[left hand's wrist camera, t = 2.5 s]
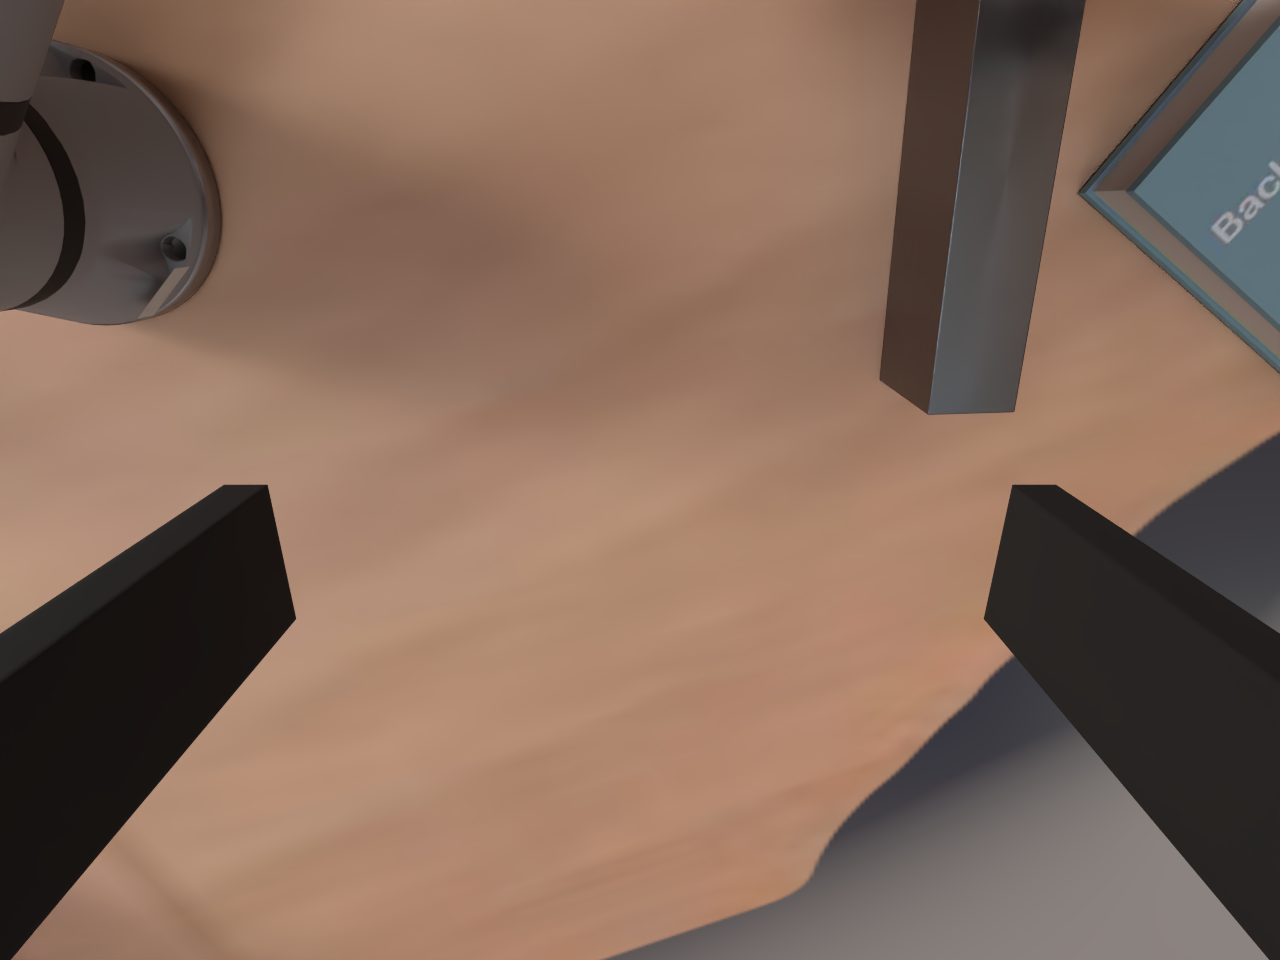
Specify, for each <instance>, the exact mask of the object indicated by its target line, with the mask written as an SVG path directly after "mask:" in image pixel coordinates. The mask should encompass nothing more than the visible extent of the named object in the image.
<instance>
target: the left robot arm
mask: <svg viewBox="0 0 1280 960" xmlns="http://www.w3.org/2000/svg"><path fill="white" fill-rule="evenodd" d="M63 3H64V0H0V311H6V310H12V309H16V310H21V311H26V312H30V313H35V314H40V315H45V316H50V317H55V318H59V319H64V320H69V321H75V322H79V323H85V324H92V325H119V324H126V323H131V322H136V321H140V320H145V319H149V318H153V317H156V316H160V315H162V314H165V313H167V312H169V311H171V310H173V309H175V308H177V307H178V306H180V305H181V304H182V303H184V302H185V301H187V300H188V299H189V298H190V297H191V296H192V295H193V294H194V293H195V292H196V291H197V290H198V288H199V287H200V286H201V285H202V283H203V282H204V280H205V279H206V277H207V275H208V273H209V271H210V269H211V267H212V265H213V262H214V260H215V257H216V253H217V249H218V245H219V238H220V227H221V216H220V204H219V197H218V192H217V188H216V184H215V180H214V176H213V173H212V171H211V168H210V165H209V162H208V160H207V158H206V156H205V153H204V151H203V149H202V147H201V145H200V144H199V142H198V140H197V138H196V136H195V135H194V133H193V132H192V130H191V128H190V127H189V125H188V124H187V123H186V121H185V120H184V119H183V117H182V116H181V115H180V113H179V112H178V111H177V110H176V109H175V107H174V106H173V105H172V104H171V103H170V102H169V101H168V100H167V99H166V98H165V97H164V96H163V95H162V94H161V93H160V92H159V91H158V90H157V89H156V88H155V87H154V86H152V85H151V84H150V83H149V82H148V81H146V80H145V79H144V78H142V77H141V76H140V75H138V74H137V73H135V72H134V71H133V70H131V69H129V68H127V67H126V66H124V65H122V64H121V63H119V62H117V61H115V60H113V59H111V58H109V57H107V56H104V55H101V54H99V53H96V52H93V51H90V50H87V49H83V48H80V47H76V46H73V45H69V44H66V43H62V42H59V41H55V40H51V39H52V36H53V33H54V30H55V27H56V24H57V21H58V18H59V15H60V12H61V9H62V6H63ZM295 620H296V616H295V611H294V607H293V602H292V597H291V592H290V588H289V583H288V578H287V574H286V569H285V564H284V560H283V555H282V550H281V546H280V541H279V536H278V532H277V527H276V522H275V518H274V513H273V508H272V503H271V499H270V494H269V489H268V485H223V486H222V487H220V488H219V489H217V490H216V491H214V492H213V493H211V494H210V495H208V496H207V497H205V498H204V499H202V500H201V501H199V502H198V503H196V504H195V505H193V506H192V507H190V508H189V509H187V510H185V511H184V512H182V513H181V514H179V515H178V516H176V517H175V518H173V519H172V520H170V521H169V522H167V523H166V524H164V525H163V526H161V527H160V528H158V529H157V530H155V531H154V532H152V533H151V534H149V535H148V536H146V537H145V538H143V539H142V540H140V541H139V542H137V543H136V544H134V545H133V546H131V547H130V548H128V549H127V550H125V551H124V552H122V553H121V554H119V555H118V556H116V557H115V558H113V559H112V560H110V561H109V562H107V563H106V564H104V565H103V566H101V567H100V568H98V569H97V570H95V571H94V572H92V573H91V574H89V575H88V576H86V577H85V578H83V579H82V580H80V581H79V582H77V583H76V584H74V585H73V586H71V587H70V588H68V589H67V590H65V591H64V592H62V593H61V594H59V595H58V596H56V597H55V598H53V599H52V600H50V601H49V602H47V603H46V604H44V605H43V606H41V607H40V608H38V609H37V610H35V611H34V612H32V613H31V614H29V615H28V616H26V617H25V618H23V619H22V620H20V621H19V622H17V623H16V624H14V625H13V626H11V627H10V628H8V629H7V630H5V631H4V632H2V633H1V634H0V960H11V959H12V958H13V956H14V955H15V954H16V953H17V952H18V950H19V949H20V948H21V947H22V946H23V944H24V943H25V942H26V941H27V940H28V938H29V937H30V936H31V935H32V934H33V933H34V931H35V930H36V929H37V928H38V927H39V925H40V924H41V923H42V922H43V921H44V919H45V918H46V917H47V916H48V915H49V913H50V912H51V911H52V910H53V909H54V907H55V906H56V905H57V904H58V903H59V901H60V900H61V899H62V898H63V897H64V896H65V894H66V893H67V892H68V891H69V890H70V888H71V887H72V886H73V885H74V884H75V882H76V881H77V880H78V879H79V878H80V876H81V875H82V874H83V873H84V872H85V870H86V869H87V868H88V867H89V866H90V864H91V863H92V862H93V861H94V860H95V858H96V857H97V856H98V855H99V854H100V853H101V851H102V850H103V849H104V848H105V847H106V845H107V844H108V843H109V842H110V841H111V839H112V838H113V837H114V836H115V835H116V833H117V832H118V831H119V830H120V829H121V827H122V826H123V825H124V824H125V823H126V821H127V820H128V819H129V818H130V817H131V815H132V814H133V813H134V812H135V811H136V810H137V808H138V807H139V806H140V805H141V804H142V802H143V801H144V800H145V799H146V798H147V796H148V795H149V794H150V793H151V792H152V790H153V789H154V788H155V787H156V786H157V784H158V783H159V782H160V781H161V780H162V778H163V777H164V776H165V775H166V774H167V773H168V771H169V770H170V769H171V768H172V767H173V765H174V764H175V763H176V762H177V761H178V759H179V758H180V757H181V756H182V755H183V753H184V752H185V751H186V750H187V749H188V747H189V746H190V745H191V744H192V743H193V741H194V740H195V739H196V738H197V737H198V735H199V734H200V733H201V732H202V731H203V730H204V728H205V727H206V726H207V725H208V724H209V722H210V721H211V720H212V719H213V718H214V716H215V715H216V714H217V713H218V712H219V710H220V709H221V708H222V707H223V706H224V704H225V703H226V702H227V701H228V700H229V698H230V697H231V696H232V695H233V694H234V692H235V691H236V690H237V689H238V688H239V687H240V685H241V684H242V683H243V682H244V681H245V679H246V678H247V677H248V676H249V675H250V673H251V672H252V671H253V670H254V669H255V667H256V666H257V665H258V664H259V663H260V661H261V660H262V659H263V658H264V657H265V655H266V654H267V653H268V652H269V651H270V650H271V648H272V647H273V646H274V645H275V644H276V642H277V641H278V640H279V639H280V638H281V636H282V635H283V634H284V633H285V632H286V630H287V629H288V628H289V627H290V626H291V624H292V623H293V622H294V621H295ZM984 620H985V621H986V622H987V623H988V624H989V626H990V627H991V628H992V629H993V630H994V632H995V633H996V634H997V635H998V636H999V638H1000V639H1001V640H1002V641H1003V642H1004V644H1005V645H1006V646H1007V647H1008V648H1009V650H1010V651H1011V652H1012V653H1013V654H1014V655H1015V657H1016V658H1017V659H1018V660H1019V661H1020V663H1021V664H1022V665H1023V666H1024V667H1025V669H1026V670H1027V671H1028V672H1029V673H1030V675H1031V676H1032V677H1033V678H1034V679H1035V680H1036V682H1037V683H1038V684H1039V685H1040V687H1041V688H1042V689H1043V690H1044V691H1045V692H1046V694H1047V695H1048V696H1049V697H1050V698H1051V700H1052V701H1053V702H1054V703H1055V704H1056V706H1057V707H1058V708H1059V709H1060V710H1061V712H1062V713H1063V714H1064V715H1065V716H1066V718H1067V719H1068V720H1069V721H1070V722H1071V724H1072V725H1073V726H1074V727H1075V728H1076V729H1077V731H1078V732H1079V733H1080V734H1081V735H1082V737H1083V738H1084V739H1085V740H1086V741H1087V743H1088V744H1089V745H1090V746H1091V747H1092V749H1093V750H1094V751H1095V752H1096V753H1097V755H1098V756H1099V757H1100V758H1101V759H1102V761H1103V762H1104V763H1105V764H1106V765H1107V767H1108V768H1109V769H1110V770H1111V771H1112V772H1113V774H1114V775H1115V776H1116V777H1117V778H1118V780H1119V781H1120V782H1121V783H1122V784H1123V786H1124V787H1125V788H1126V789H1127V790H1128V792H1129V793H1130V794H1131V795H1132V796H1133V798H1134V799H1135V800H1136V801H1137V802H1138V804H1139V805H1140V806H1141V807H1142V808H1143V810H1144V811H1145V812H1146V813H1147V814H1148V815H1149V817H1150V818H1151V819H1152V820H1153V821H1154V823H1155V824H1156V825H1157V826H1158V827H1159V829H1160V830H1161V831H1162V832H1163V833H1164V835H1165V836H1166V837H1167V838H1168V839H1169V840H1170V842H1171V843H1172V844H1173V845H1174V847H1175V848H1176V849H1177V850H1178V851H1179V853H1180V854H1181V855H1182V856H1183V857H1184V858H1185V860H1186V861H1187V862H1188V863H1189V864H1190V866H1191V867H1192V868H1193V869H1194V870H1195V872H1196V873H1197V874H1198V875H1199V876H1200V878H1201V879H1202V880H1203V881H1204V882H1205V884H1206V885H1207V886H1208V887H1209V888H1210V890H1211V891H1212V892H1213V893H1214V894H1215V896H1216V897H1217V898H1218V899H1219V900H1220V901H1221V903H1222V904H1223V905H1224V906H1225V907H1226V909H1227V910H1228V911H1229V912H1230V913H1231V915H1232V916H1233V917H1234V918H1235V919H1236V921H1237V922H1238V923H1239V924H1240V925H1241V927H1242V928H1243V929H1244V930H1245V931H1246V932H1247V934H1248V935H1249V936H1250V937H1251V938H1252V940H1253V941H1254V942H1255V943H1256V944H1257V946H1258V947H1259V948H1260V949H1261V950H1262V952H1263V953H1264V954H1265V955H1266V956H1267V958H1268V959H1269V960H1280V633H1278V632H1276V631H1275V630H1273V629H1272V628H1270V627H1269V626H1267V625H1266V624H1264V623H1263V622H1261V621H1260V620H1258V619H1257V618H1255V617H1254V616H1252V615H1251V614H1249V613H1248V612H1246V611H1245V610H1243V609H1242V608H1240V607H1239V606H1237V605H1236V604H1234V603H1233V602H1231V601H1230V600H1228V599H1227V598H1225V597H1224V596H1222V595H1221V594H1219V593H1218V592H1216V591H1215V590H1213V589H1212V588H1210V587H1209V586H1207V585H1206V584H1204V583H1203V582H1201V581H1200V580H1198V579H1197V578H1195V577H1194V576H1192V575H1191V574H1189V573H1188V572H1186V571H1185V570H1183V569H1182V568H1180V567H1179V566H1177V565H1176V564H1174V563H1173V562H1171V561H1170V560H1168V559H1167V558H1165V557H1164V556H1162V555H1161V554H1159V553H1158V552H1156V551H1155V550H1153V549H1152V548H1150V547H1149V546H1147V545H1146V544H1144V543H1143V542H1141V541H1140V540H1138V539H1137V538H1135V537H1134V536H1132V535H1131V534H1129V533H1128V532H1126V531H1125V530H1123V529H1122V528H1120V527H1119V526H1117V525H1116V524H1114V523H1113V522H1111V521H1110V520H1108V519H1107V518H1105V517H1104V516H1102V515H1101V514H1099V513H1098V512H1096V511H1095V510H1093V509H1091V508H1090V507H1088V506H1087V505H1085V504H1084V503H1082V502H1081V501H1079V500H1078V499H1076V498H1075V497H1073V496H1072V495H1070V494H1069V493H1067V492H1066V491H1064V490H1063V489H1061V488H1060V487H1058V486H1057V485H1012V489H1011V494H1010V499H1009V503H1008V508H1007V513H1006V518H1005V522H1004V527H1003V532H1002V536H1001V541H1000V546H999V550H998V555H997V560H996V564H995V569H994V574H993V578H992V583H991V588H990V592H989V597H988V602H987V607H986V611H985V616H984Z"/></svg>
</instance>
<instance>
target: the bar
mask: <svg viewBox="0 0 1280 960" xmlns="http://www.w3.org/2000/svg"><path fill="white" fill-rule="evenodd" d="M1085 1H1086V0H917V4H916V14H915V25H914V35H913V45H912V55H911V65H910V76H909V86H908V96H907V106H906V117H905V127H904V137H903V147H902V157H901V168H900V178H899V188H898V198H897V209H896V219H895V229H894V239H893V250H892V260H891V270H890V280H889V290H888V301H887V311H886V321H885V331H884V342H883V352H882V362H881V372H880V381H882V382H883V383H885V384H886V385H887V386H889V387H890V388H892V389H893V390H894V391H896V392H897V393H899V394H900V395H901V396H903V397H904V398H906V399H907V400H908V401H910V402H911V403H913V404H914V405H915V406H917V407H918V408H920V409H921V410H922V411H924V412H925V413H927V414H928V415H935V414H969V413H1002V412H1014V410H1015V405H1016V399H1017V393H1018V387H1019V382H1020V376H1021V370H1022V364H1023V359H1024V353H1025V347H1026V341H1027V336H1028V330H1029V324H1030V318H1031V312H1032V307H1033V301H1034V295H1035V289H1036V284H1037V278H1038V272H1039V266H1040V261H1041V255H1042V249H1043V243H1044V237H1045V232H1046V226H1047V220H1048V214H1049V209H1050V203H1051V197H1052V191H1053V186H1054V180H1055V174H1056V168H1057V162H1058V157H1059V151H1060V145H1061V139H1062V134H1063V128H1064V122H1065V116H1066V111H1067V105H1068V99H1069V93H1070V87H1071V82H1072V76H1073V70H1074V64H1075V59H1076V53H1077V47H1078V41H1079V36H1080V30H1081V24H1082V18H1083V12H1084V7H1085Z"/></svg>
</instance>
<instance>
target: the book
mask: <svg viewBox="0 0 1280 960" xmlns="http://www.w3.org/2000/svg"><path fill="white" fill-rule="evenodd" d="M1079 194H1080V195H1081V196H1082V197H1083V198H1084V199H1085V200H1086V201H1088V202H1089V203H1090V204H1091V205H1092V206H1093V207H1094V208H1095V209H1096V210H1098V211H1099V212H1100V213H1101V214H1102V215H1103V216H1104V217H1105V218H1107V219H1108V220H1109V221H1110V222H1111V223H1112V224H1113V225H1114V226H1116V227H1117V228H1118V229H1119V230H1120V231H1121V232H1122V233H1123V234H1125V235H1126V236H1127V237H1128V238H1129V239H1130V240H1131V241H1132V242H1134V243H1135V244H1136V245H1137V246H1138V247H1139V248H1140V249H1141V250H1142V251H1144V252H1145V253H1146V254H1147V255H1148V256H1149V257H1150V258H1151V259H1153V260H1154V261H1155V262H1156V263H1157V264H1158V265H1159V266H1160V267H1162V268H1163V269H1164V270H1165V271H1166V272H1167V273H1168V274H1169V275H1171V276H1172V277H1173V278H1174V279H1175V280H1176V281H1177V282H1178V283H1180V284H1181V285H1182V286H1183V287H1184V288H1185V289H1186V290H1187V291H1188V292H1190V293H1191V294H1192V295H1193V296H1194V297H1195V298H1196V299H1197V300H1199V301H1200V302H1201V303H1202V304H1203V305H1204V306H1205V307H1206V308H1208V309H1209V310H1210V311H1211V312H1212V313H1213V314H1214V315H1215V316H1217V317H1218V318H1219V319H1220V320H1221V321H1222V322H1223V323H1224V324H1225V325H1227V326H1228V327H1229V328H1230V329H1231V330H1232V331H1233V332H1234V333H1236V334H1237V335H1238V336H1239V337H1240V338H1241V339H1242V340H1243V341H1245V342H1246V343H1247V344H1248V345H1249V346H1250V347H1251V348H1252V349H1254V350H1255V351H1256V352H1257V353H1258V354H1259V355H1260V356H1261V357H1263V358H1264V359H1265V360H1266V361H1267V362H1268V363H1269V364H1270V365H1271V366H1273V367H1274V368H1275V369H1276V370H1277V371H1278V372H1279V373H1280V0H1243V1H1242V2H1241V3H1240V4H1239V6H1238V7H1237V8H1236V9H1235V10H1234V12H1233V13H1232V14H1231V15H1230V16H1229V17H1228V19H1227V20H1226V21H1225V22H1224V23H1223V24H1222V26H1221V27H1220V28H1219V29H1218V30H1217V31H1216V33H1215V34H1214V35H1213V36H1212V37H1211V38H1210V40H1209V41H1208V42H1207V43H1206V44H1205V45H1204V47H1203V48H1202V49H1201V50H1200V51H1199V53H1198V54H1197V55H1196V56H1195V57H1194V58H1193V60H1192V61H1191V62H1190V63H1189V64H1188V65H1187V67H1186V68H1185V69H1184V70H1183V71H1182V72H1181V74H1180V75H1179V76H1178V77H1177V78H1176V79H1175V81H1174V82H1173V83H1172V84H1171V85H1170V86H1169V88H1168V89H1167V90H1166V91H1165V92H1164V94H1163V95H1162V96H1161V97H1160V98H1159V99H1158V101H1157V102H1156V103H1155V104H1154V105H1153V106H1152V108H1151V109H1150V110H1149V111H1148V112H1147V113H1146V115H1145V116H1144V117H1143V118H1142V119H1141V120H1140V122H1139V123H1138V124H1137V125H1136V126H1135V127H1134V129H1133V130H1132V131H1131V132H1130V133H1129V135H1128V136H1127V137H1126V138H1125V139H1124V140H1123V142H1122V143H1121V144H1120V145H1119V146H1118V147H1117V149H1116V150H1115V151H1114V152H1113V153H1112V154H1111V156H1110V157H1109V158H1108V159H1107V160H1106V161H1105V163H1104V164H1103V165H1102V166H1101V167H1100V169H1099V170H1098V171H1097V172H1096V173H1095V174H1094V176H1093V177H1092V178H1091V179H1090V180H1089V181H1088V183H1087V184H1086V185H1085V186H1084V187H1083V188H1082V190H1081V191H1080V192H1079Z"/></svg>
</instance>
